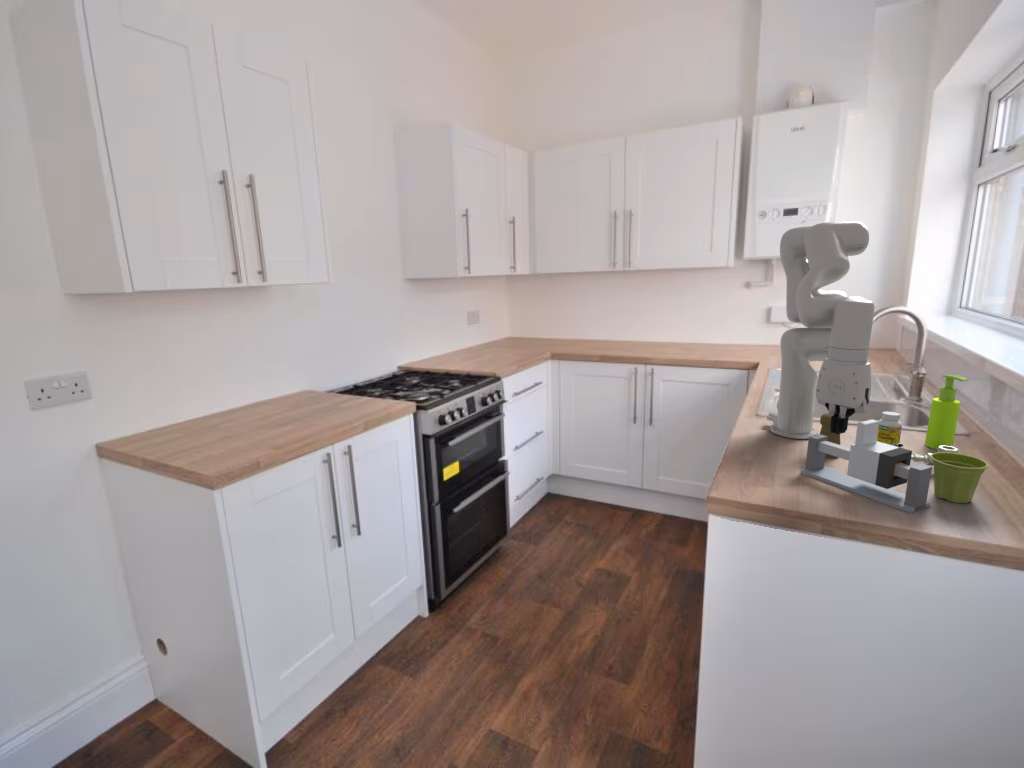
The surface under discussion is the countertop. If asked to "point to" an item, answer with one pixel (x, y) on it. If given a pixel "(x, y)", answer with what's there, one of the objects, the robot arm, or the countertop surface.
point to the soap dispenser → (944, 415)
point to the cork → (828, 432)
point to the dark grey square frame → (891, 467)
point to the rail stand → (906, 502)
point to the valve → (926, 457)
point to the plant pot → (956, 475)
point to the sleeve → (866, 452)
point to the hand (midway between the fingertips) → (838, 432)
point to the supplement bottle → (889, 428)
